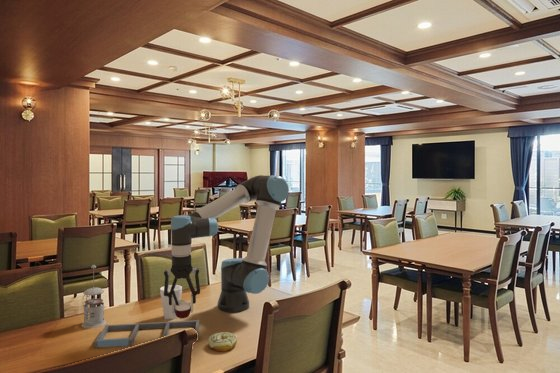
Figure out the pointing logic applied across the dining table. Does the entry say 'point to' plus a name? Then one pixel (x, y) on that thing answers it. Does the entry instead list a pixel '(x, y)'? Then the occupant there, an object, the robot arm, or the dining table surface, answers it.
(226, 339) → the decorated donut
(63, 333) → the dining table surface
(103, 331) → the organizer
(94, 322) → the french press
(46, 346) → the dining table surface
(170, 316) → the foam cup
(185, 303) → the cocoa
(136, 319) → the dining table surface
